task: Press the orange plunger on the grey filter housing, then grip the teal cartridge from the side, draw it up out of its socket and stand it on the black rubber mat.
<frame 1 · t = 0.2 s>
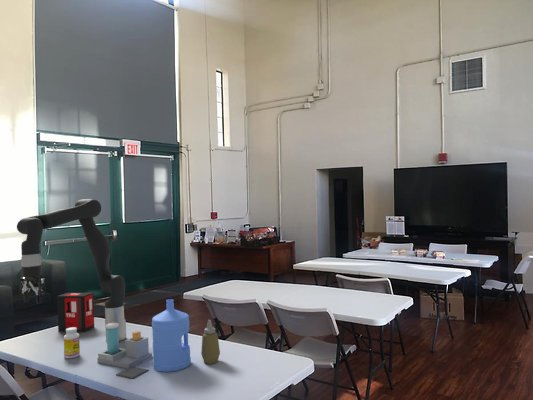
hand: (32, 302, 185), 29 cm above the table, tool pointing down, fingers open, 8 cm apart
squeeze bottle: (211, 362, 188), on the table
cartridge: (113, 356, 194), point 2 cm above the table, touching housing
water jug: (172, 366, 185), on the table
mat: (132, 373, 179), on the table
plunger: (136, 337, 195), point 10 cm above the table, slide at 0.0 cm
supplement bottle: (72, 356, 202), on the table
housing: (125, 360, 194), on the table
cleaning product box: (76, 330, 246), on the table
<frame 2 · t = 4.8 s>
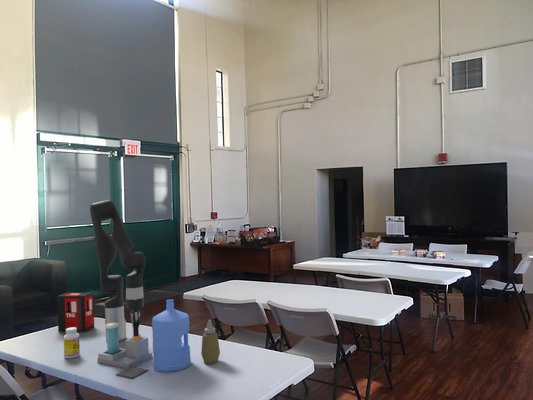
hand: (136, 335, 195), 11 cm above the table, tool pointing down, fingers closed
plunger: (136, 341, 195), point 8 cm above the table, slide at 1.4 cm, touching gripper
everything else where it was.
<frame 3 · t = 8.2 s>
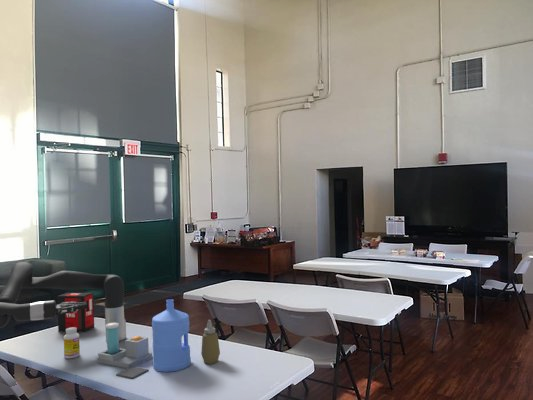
hand: (87, 305, 190), 26 cm above the table, tool horizontal, fingers open, 3 cm apart
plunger: (136, 342, 195), point 7 cm above the table, slide at 2.1 cm
everything else where it was.
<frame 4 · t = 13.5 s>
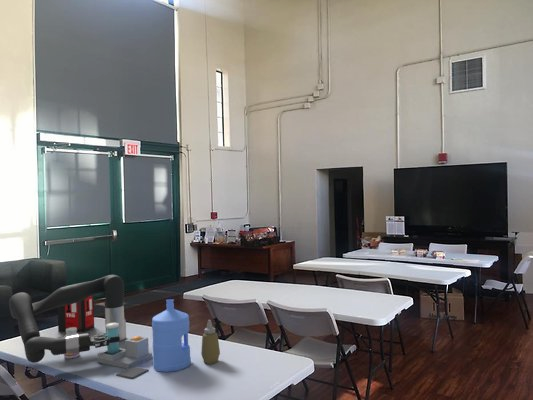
hand: (118, 337, 195), 10 cm above the table, tool horizontal, fingers closed on cartridge, 4 cm apart
cartridge: (113, 356, 194), point 2 cm above the table, touching gripper, housing
everything else where it was.
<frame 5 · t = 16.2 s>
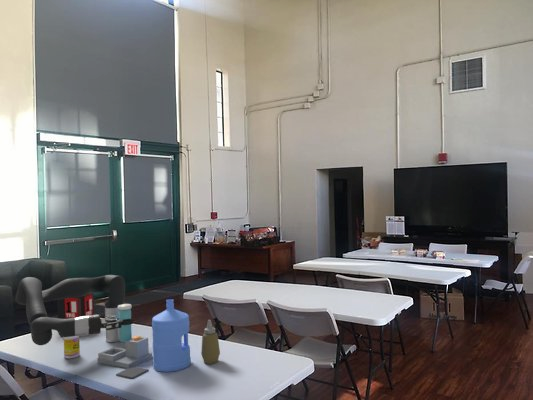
hand: (131, 319, 180), 22 cm above the table, tool horizontal, fingers closed on cartridge, 4 cm apart
cartridge: (125, 339, 179), point 14 cm above the table, touching gripper
everything else where it was.
when the fingers open (10 cm above the table, at t = 19.2 s): cartridge drops 1 cm, resting on mat.
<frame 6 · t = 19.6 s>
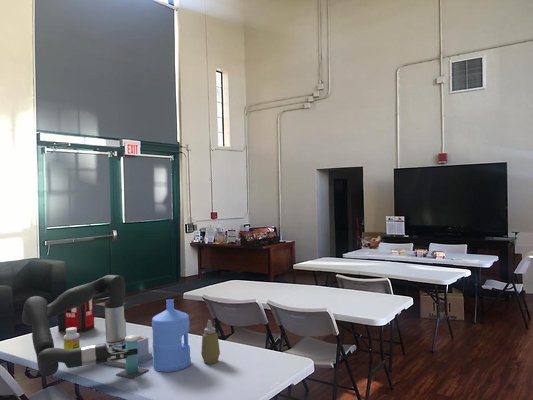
hand: (136, 348, 179), 10 cm above the table, tool horizontal, fingers open, 8 cm apart
cartridge: (132, 371, 179), point 1 cm above the table, touching mat
everything else where it was.
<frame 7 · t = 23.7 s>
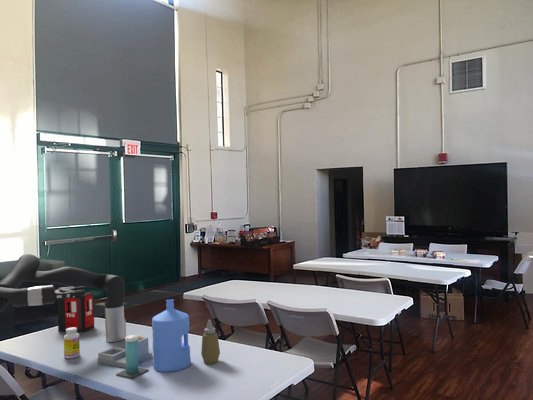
hand: (84, 290, 182), 34 cm above the table, tool horizontal, fingers open, 8 cm apart
nothing on the table moved.
at the end: cartridge 0.1 cm from the mat (horizontally); cartridge tilted 2°; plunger slide at 2.1 cm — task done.
